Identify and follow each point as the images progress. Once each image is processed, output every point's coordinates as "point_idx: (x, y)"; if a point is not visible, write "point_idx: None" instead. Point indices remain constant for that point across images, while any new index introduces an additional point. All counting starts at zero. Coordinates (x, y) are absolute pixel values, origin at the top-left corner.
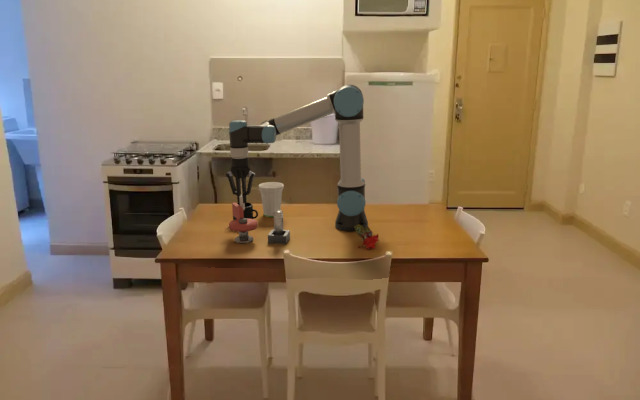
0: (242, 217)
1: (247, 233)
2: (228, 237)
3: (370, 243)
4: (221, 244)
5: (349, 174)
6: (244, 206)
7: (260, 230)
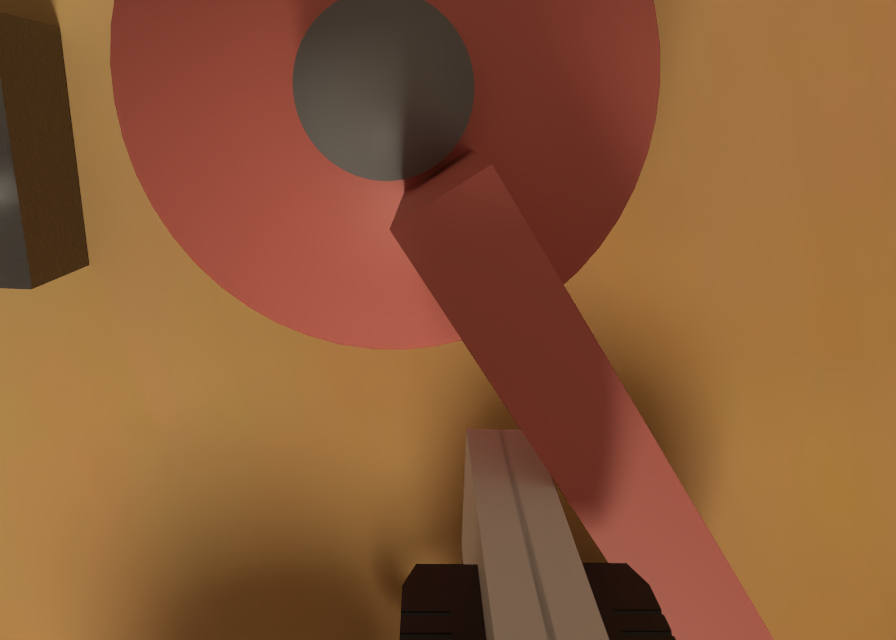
0: (423, 187)
1: None
2: None
3: None
4: None
5: None
6: (466, 561)
7: (307, 466)
